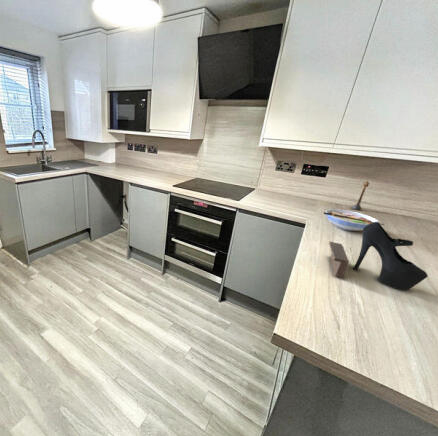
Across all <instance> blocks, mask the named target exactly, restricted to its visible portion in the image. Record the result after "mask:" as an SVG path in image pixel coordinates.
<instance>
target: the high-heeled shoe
mask: <svg viewBox="0 0 438 436" xmlns="http://www.w3.org/2000/svg"><path fill="white" fill-rule="evenodd" d="M379 223H380V222H373V223H371V224H368V225H367V226H365V227H364V228H363V230H361V232H362V233H361V236H362V239H361V247H360V251H359V255H358V258H357V260H356V262H355V264H354V266H353V267H352V269H353V270H354V271H358V270H359V268H360V267H361V264H362V263H363V260H364V259H365V257H366V254H368V252H369V250H370V247H373V248H374V249H375V251H377V253H378V255H379V257H380V260H381V268H380V273H379V275H378V277H377V281H378V282H379V283H381V284H382V285H385V286H387V287H389V288H393V289H396V290H402V291H409V290H411V289H412V288H414V287H415V286H416V285H418V284H420V283H422V281H424V280H425V279H427V278H428V273H427V272H426V271H425V270H423V269H422V268H420V267H419V266H417V265H416V264H415V263H413V262H412V261H409V260H407V259H406V258H404V256H402V255H401V254H400V252H399V251H398V250H397V248H396V247H412V246H413V245H414V241H412V240H410V239H409V240H408V239H403V238H394V237H391V236H390V235H389V234H388V232H387V231H386V230H385V228H384V227H383V225H382V224H381V223H380V224H379Z"/></svg>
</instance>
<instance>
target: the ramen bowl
mask: <svg viewBox="0 0 438 436" xmlns="http://www.w3.org/2000/svg"><path fill="white" fill-rule="evenodd" d="M323 215H325V216H326V217H327V219H328V220H329V222H330V223H331V224H332V225H335V226H336V227H338V228H339V229H341V230H344V231H350V232H354V231H357V232H358V231H362V230H363V228H364V227H365V226H367V225H368V224H371V223H373V222H379V220H378V219H377V218H375V217H372V216H369V215H367V214H364V213H360V212H356V211H352V210H347V209H339V208H329V209H326V210H325V211H324V212H323ZM379 224H380V225H381V226H386V225H385V223H380V222H379Z"/></svg>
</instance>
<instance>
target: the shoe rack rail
mask: <svg viewBox="0 0 438 436" xmlns="http://www.w3.org/2000/svg"><path fill="white" fill-rule="evenodd" d="M328 246H329V250H330V252H331V254H330V256H329V259H330V263H331V267H332V270H333V273H334V277H336V278H340V279H343V277H344V274H345V272H346V270H347V269H348V265H349V263H350V260H349V259H348V258H349V257H348V256H347V253H346V251H345V249H344V246H343V244H342V243H339V242H333V241H329V242H328Z"/></svg>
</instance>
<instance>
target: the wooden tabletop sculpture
mask: <svg viewBox="0 0 438 436" xmlns="http://www.w3.org/2000/svg"><path fill="white" fill-rule="evenodd" d="M362 185H363V188H362V190H361V193H360V194H359V198H358V200H357V201H356V203H355V204H354V205H352V207H351V210H354V211H361V210H362V206H361V203H362V200H363V198H364V197H363V196H364V194H365V192H366V189H367V187H369V185H370V182H369V181H367V180H366V181H364V182H363V184H362Z"/></svg>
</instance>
